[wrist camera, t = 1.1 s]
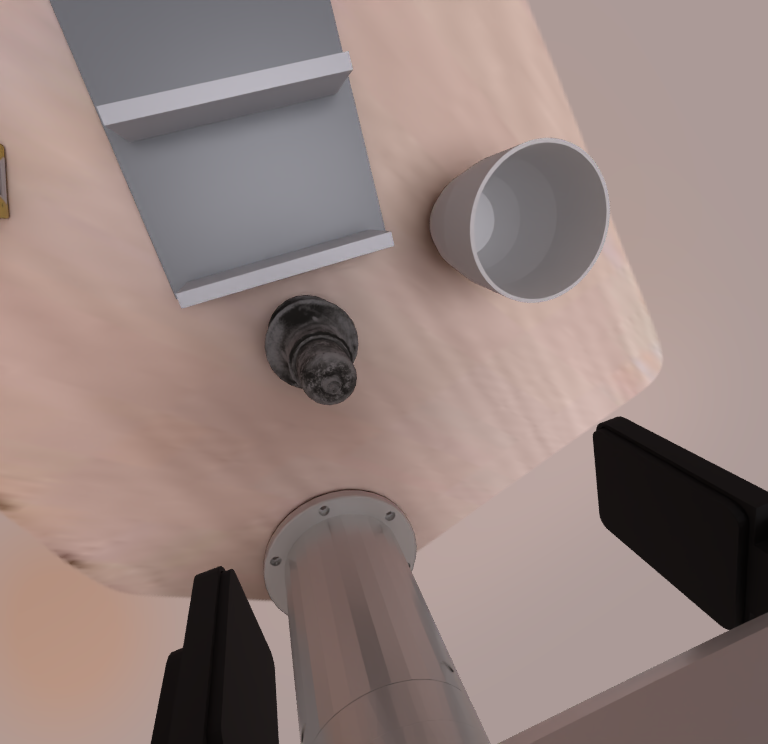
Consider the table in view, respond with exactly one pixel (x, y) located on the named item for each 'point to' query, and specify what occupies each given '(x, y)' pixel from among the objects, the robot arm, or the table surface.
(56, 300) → the table surface
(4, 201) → the candy box
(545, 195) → the cup
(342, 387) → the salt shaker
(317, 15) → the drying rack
